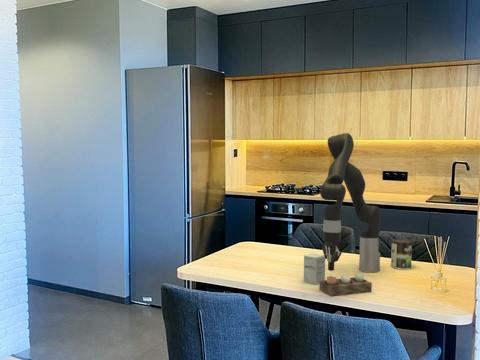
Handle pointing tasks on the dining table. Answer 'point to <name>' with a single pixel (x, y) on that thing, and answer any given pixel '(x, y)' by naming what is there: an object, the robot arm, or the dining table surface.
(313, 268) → the supplement box
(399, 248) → the coffee can
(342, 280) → the cream pill shape
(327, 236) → the robot arm
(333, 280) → the terracotta button
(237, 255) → the dining table surface
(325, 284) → the frame
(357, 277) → the sage button
